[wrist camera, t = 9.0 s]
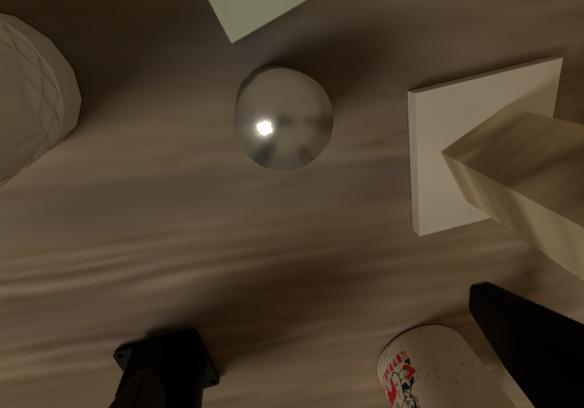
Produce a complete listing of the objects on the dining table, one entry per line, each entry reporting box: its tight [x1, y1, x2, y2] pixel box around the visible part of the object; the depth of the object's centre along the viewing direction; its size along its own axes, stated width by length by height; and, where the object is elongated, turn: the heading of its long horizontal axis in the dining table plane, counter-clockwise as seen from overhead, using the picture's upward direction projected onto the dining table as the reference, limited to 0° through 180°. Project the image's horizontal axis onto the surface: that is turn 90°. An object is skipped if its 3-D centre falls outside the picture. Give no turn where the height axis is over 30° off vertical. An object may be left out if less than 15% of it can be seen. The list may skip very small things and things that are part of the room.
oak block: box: [441, 107, 584, 281], centre depth 15 cm, size 4×4×13 cm
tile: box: [407, 57, 563, 236], centre depth 21 cm, size 10×9×1 cm
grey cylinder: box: [235, 64, 333, 170], centre depth 16 cm, size 4×4×5 cm
